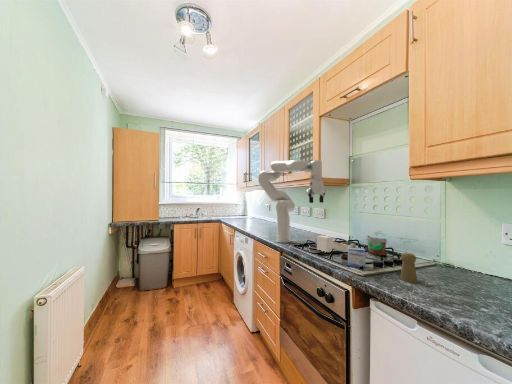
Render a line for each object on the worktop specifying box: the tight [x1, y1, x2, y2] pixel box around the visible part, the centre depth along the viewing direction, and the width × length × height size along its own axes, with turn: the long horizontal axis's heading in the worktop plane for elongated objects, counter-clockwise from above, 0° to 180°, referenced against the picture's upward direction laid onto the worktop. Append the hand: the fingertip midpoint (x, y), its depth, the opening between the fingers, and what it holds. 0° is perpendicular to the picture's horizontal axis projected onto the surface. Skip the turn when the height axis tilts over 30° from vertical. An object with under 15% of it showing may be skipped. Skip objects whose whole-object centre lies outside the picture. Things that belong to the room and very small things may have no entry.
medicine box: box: [347, 247, 366, 269], centre depth 112 cm, size 8×4×9 cm, turn 68°
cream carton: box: [316, 235, 333, 253], centre depth 143 cm, size 5×8×9 cm, turn 29°
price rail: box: [315, 235, 356, 253], centre depth 147 cm, size 30×2×6 cm, turn 30°
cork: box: [399, 252, 418, 284], centre depth 93 cm, size 6×6×11 cm
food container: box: [365, 235, 388, 257], centre depth 134 cm, size 12×6×10 cm, turn 25°
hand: (316, 202), depth 156 cm, fingers open, 9 cm apart
